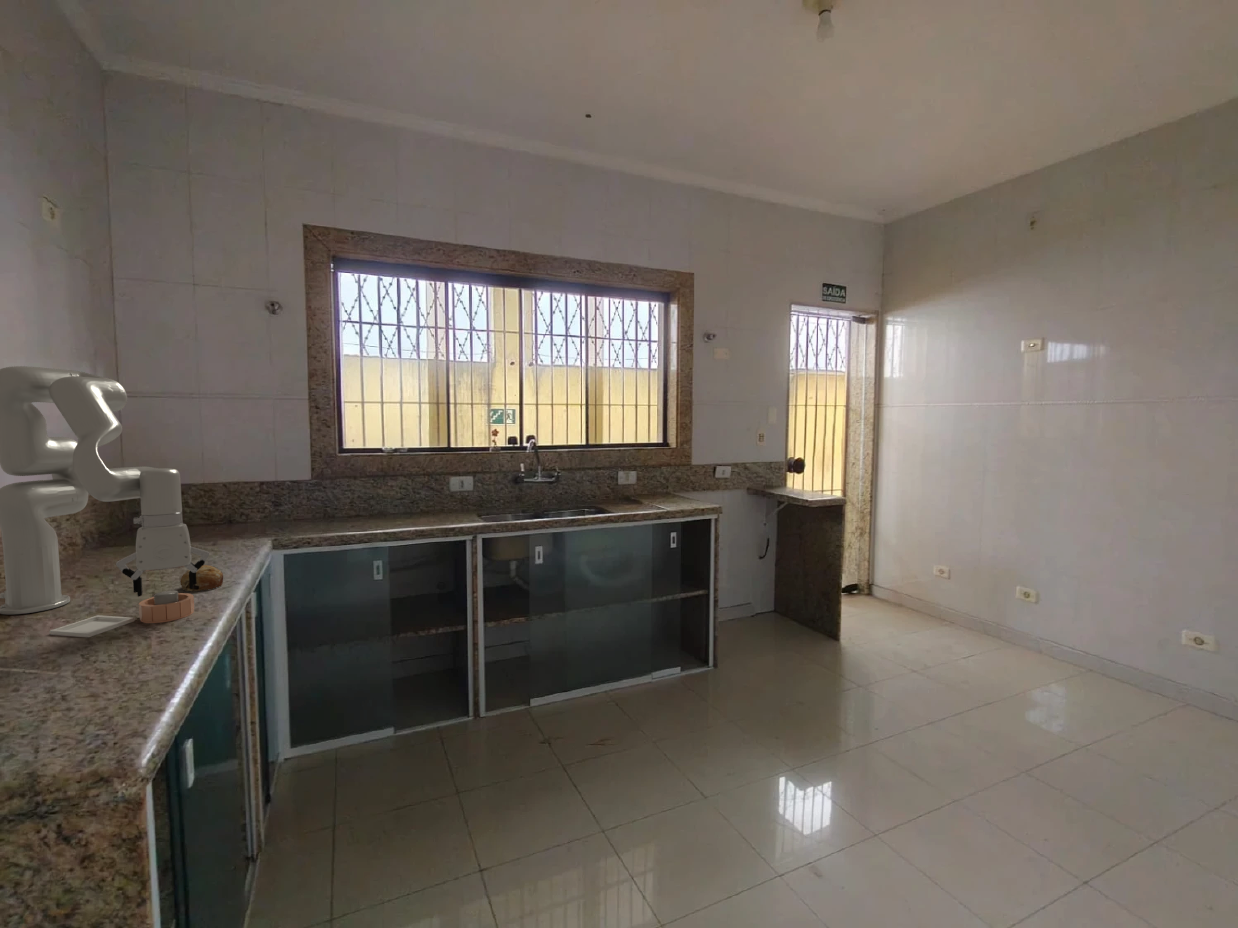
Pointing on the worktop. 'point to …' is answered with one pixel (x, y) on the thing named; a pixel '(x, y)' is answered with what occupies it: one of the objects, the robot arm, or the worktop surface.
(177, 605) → the bowl
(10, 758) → the worktop surface
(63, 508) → the robot arm
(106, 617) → the parts tray
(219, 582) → the bread roll
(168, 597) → the grey cylinder
